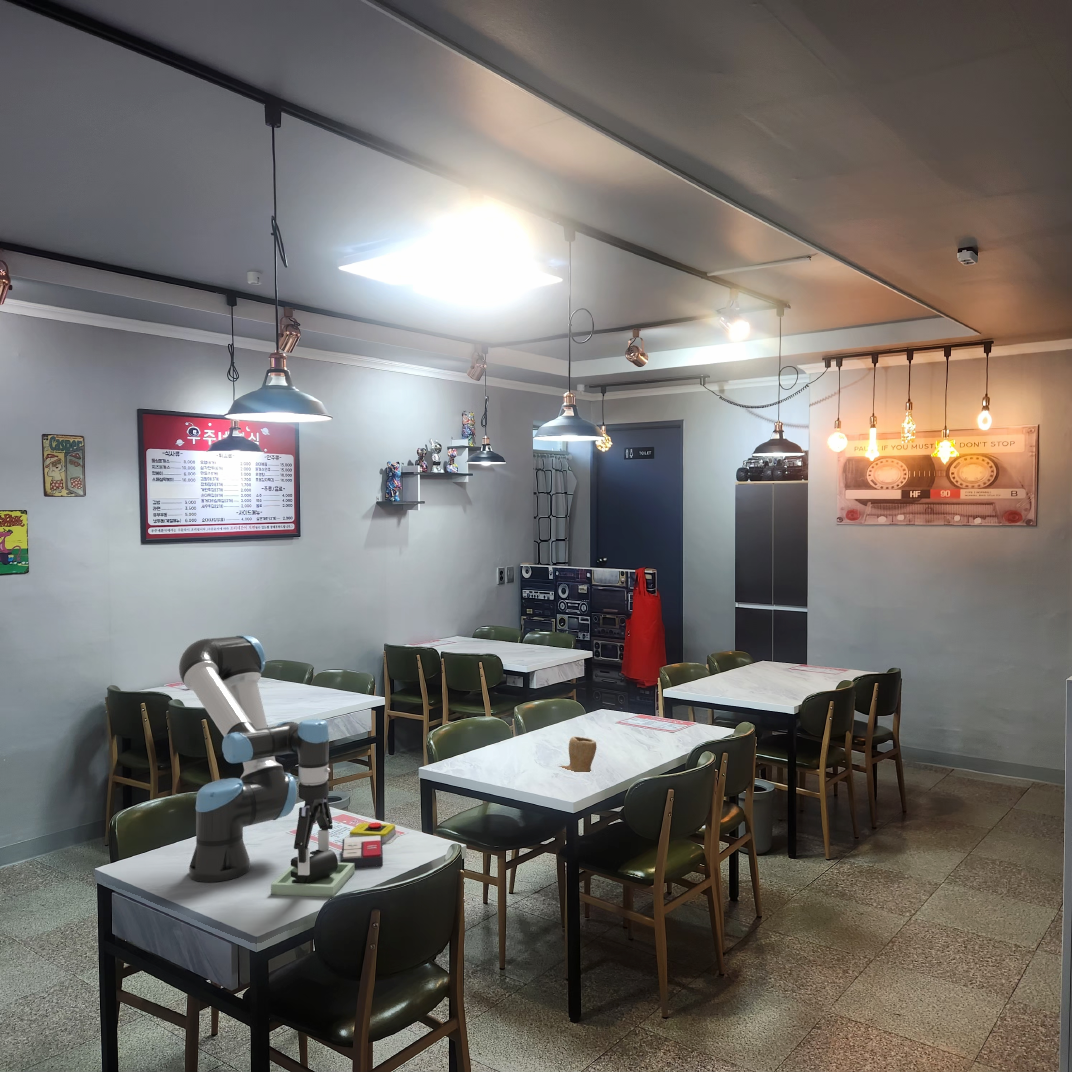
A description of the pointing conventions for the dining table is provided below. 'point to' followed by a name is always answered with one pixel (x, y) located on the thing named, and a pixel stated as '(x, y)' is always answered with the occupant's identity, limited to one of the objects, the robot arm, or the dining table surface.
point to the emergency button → (375, 831)
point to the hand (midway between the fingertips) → (314, 864)
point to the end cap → (316, 867)
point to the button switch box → (363, 851)
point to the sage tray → (317, 888)
